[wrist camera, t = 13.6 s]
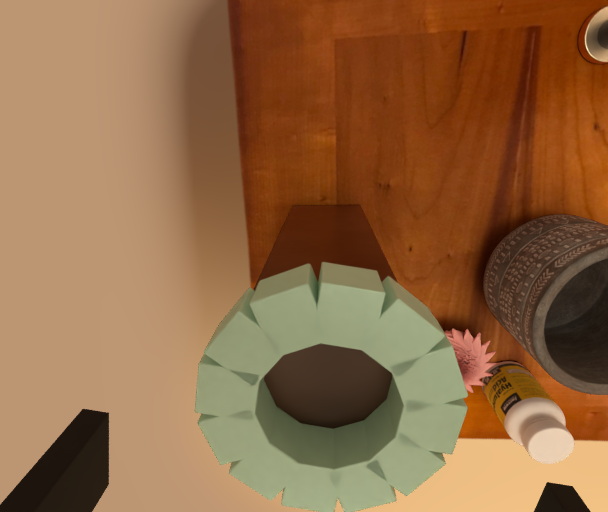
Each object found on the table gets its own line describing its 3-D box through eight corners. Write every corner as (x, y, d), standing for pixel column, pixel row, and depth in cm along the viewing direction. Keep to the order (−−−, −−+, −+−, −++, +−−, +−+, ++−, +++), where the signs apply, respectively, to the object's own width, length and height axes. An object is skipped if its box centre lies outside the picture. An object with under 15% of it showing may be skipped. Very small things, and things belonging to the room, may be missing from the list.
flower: (479, 376, 44) (500, 409, 39) (407, 376, 45) (418, 409, 39) (487, 312, 42) (510, 338, 37) (411, 312, 42) (423, 338, 37)
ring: (169, 384, 18) (146, 420, 16) (310, 212, 15) (308, 226, 13) (341, 501, 20) (343, 549, 17) (498, 363, 17) (524, 399, 15)
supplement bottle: (488, 355, 43) (533, 415, 34) (536, 364, 43) (594, 427, 34) (473, 395, 45) (511, 464, 36) (519, 405, 45) (570, 475, 36)
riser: (294, 269, 42) (255, 433, 19) (292, 205, 40) (246, 302, 17) (358, 269, 41) (400, 437, 18) (360, 204, 39) (408, 302, 16)
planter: (488, 335, 43) (553, 415, 31) (454, 234, 40) (512, 279, 27) (605, 296, 41) (724, 366, 29) (579, 187, 38) (701, 213, 25)
